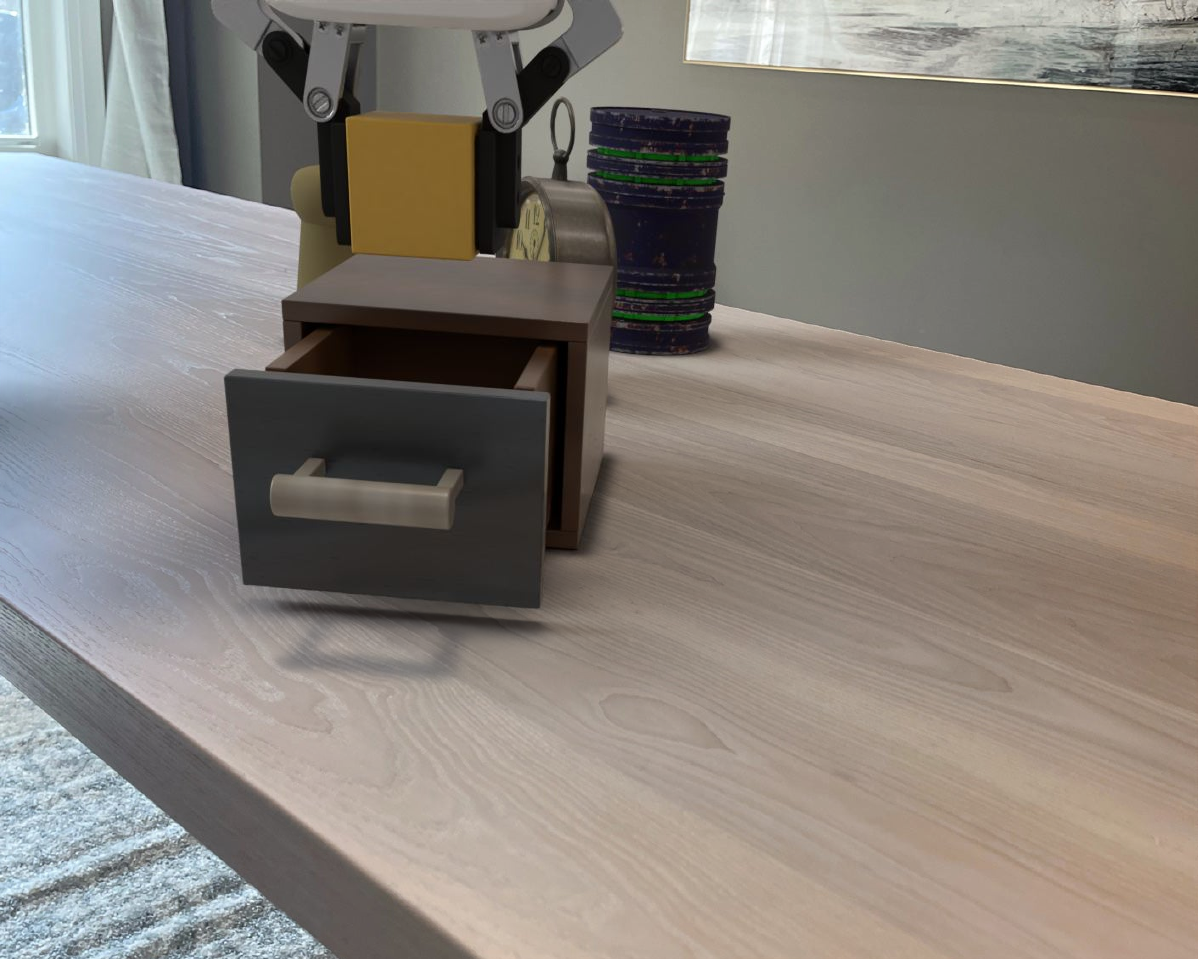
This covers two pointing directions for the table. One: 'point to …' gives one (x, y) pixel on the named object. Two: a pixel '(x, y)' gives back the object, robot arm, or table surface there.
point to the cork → (315, 229)
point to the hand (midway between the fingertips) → (422, 239)
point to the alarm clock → (562, 216)
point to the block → (412, 184)
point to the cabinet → (495, 308)
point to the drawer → (399, 464)
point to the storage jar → (661, 221)
